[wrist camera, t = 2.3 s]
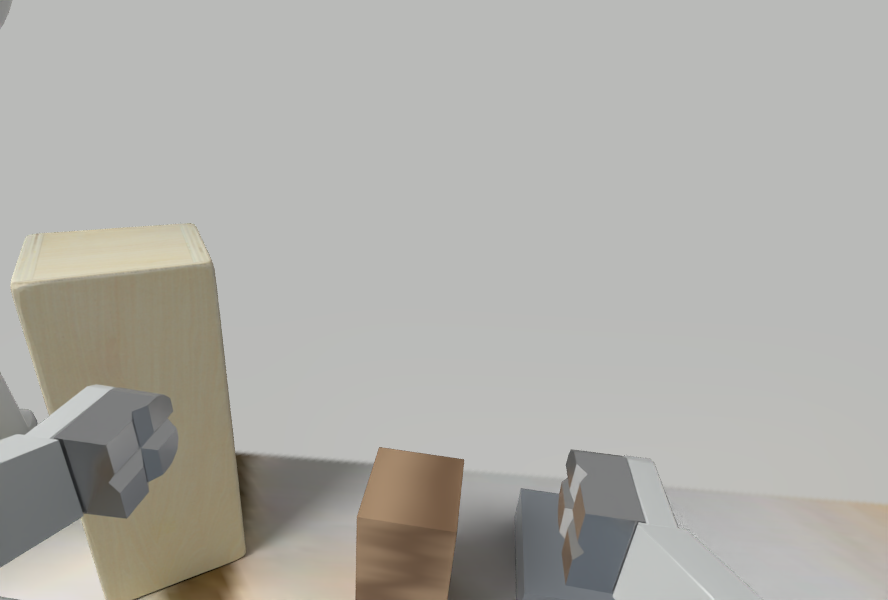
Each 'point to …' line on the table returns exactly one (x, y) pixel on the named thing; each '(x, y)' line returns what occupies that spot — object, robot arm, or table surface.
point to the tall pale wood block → (141, 385)
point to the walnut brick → (408, 526)
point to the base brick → (543, 551)
